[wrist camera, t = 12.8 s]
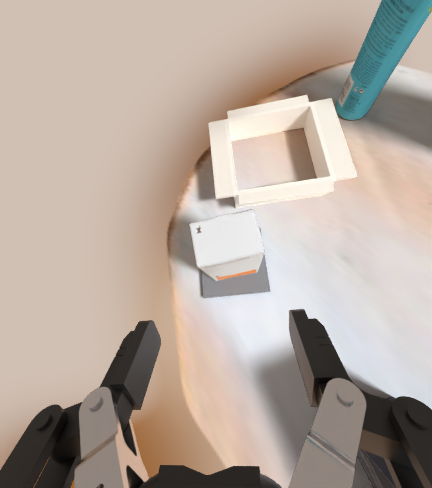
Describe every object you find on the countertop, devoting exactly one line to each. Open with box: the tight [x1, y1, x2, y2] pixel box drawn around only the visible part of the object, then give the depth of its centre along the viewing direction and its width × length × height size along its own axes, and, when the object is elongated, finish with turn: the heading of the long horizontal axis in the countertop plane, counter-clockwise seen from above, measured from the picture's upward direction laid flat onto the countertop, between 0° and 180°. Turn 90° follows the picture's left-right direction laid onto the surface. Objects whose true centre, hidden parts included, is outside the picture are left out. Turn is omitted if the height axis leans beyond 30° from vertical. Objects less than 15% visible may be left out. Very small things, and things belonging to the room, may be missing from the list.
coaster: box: [201, 228, 270, 298], centre depth 29 cm, size 9×9×1 cm
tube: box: [336, 0, 432, 120], centre depth 25 cm, size 7×5×19 cm, turn 21°
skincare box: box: [189, 209, 265, 281], centre depth 23 cm, size 6×4×12 cm
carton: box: [208, 95, 357, 208], centre depth 31 cm, size 18×16×4 cm
